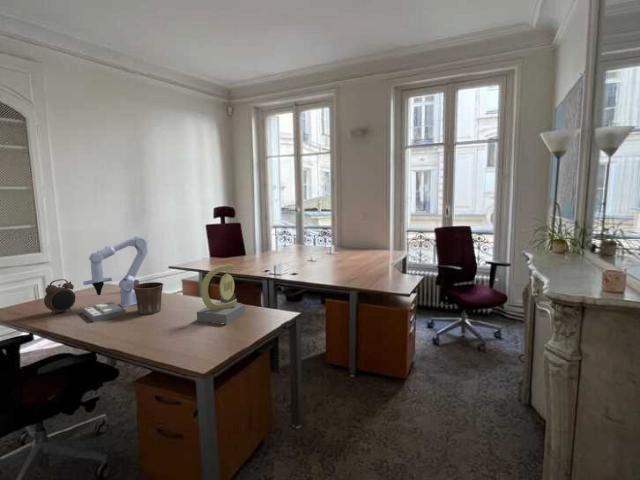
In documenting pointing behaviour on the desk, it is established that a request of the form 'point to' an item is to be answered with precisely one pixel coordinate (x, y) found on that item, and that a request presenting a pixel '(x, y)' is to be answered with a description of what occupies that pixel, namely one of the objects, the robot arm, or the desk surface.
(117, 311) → the button panel
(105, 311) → the button
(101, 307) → the button
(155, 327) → the desk surface
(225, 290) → the trophy
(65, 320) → the desk surface
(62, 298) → the alarm clock
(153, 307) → the plant pot
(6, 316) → the desk surface
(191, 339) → the desk surface
